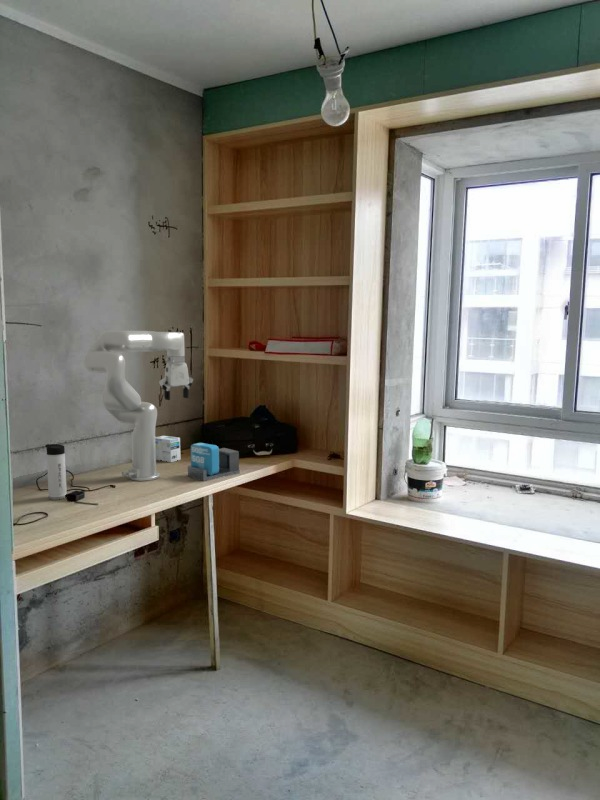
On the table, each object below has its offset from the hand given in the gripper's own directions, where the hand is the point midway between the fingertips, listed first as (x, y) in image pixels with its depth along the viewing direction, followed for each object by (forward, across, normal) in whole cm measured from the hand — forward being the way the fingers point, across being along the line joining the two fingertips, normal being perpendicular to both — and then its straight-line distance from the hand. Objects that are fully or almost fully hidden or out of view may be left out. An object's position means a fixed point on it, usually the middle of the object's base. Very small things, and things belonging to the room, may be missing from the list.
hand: (176, 398), depth 280 cm
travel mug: (+31, -61, -12) cm, 69 cm away
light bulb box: (+31, +3, +13) cm, 33 cm away
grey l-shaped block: (+30, +2, -24) cm, 39 cm away
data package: (+29, -3, -24) cm, 38 cm away
